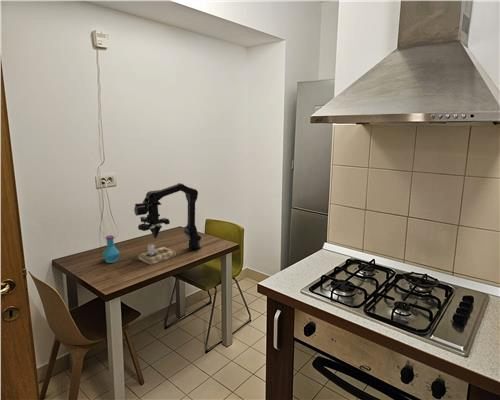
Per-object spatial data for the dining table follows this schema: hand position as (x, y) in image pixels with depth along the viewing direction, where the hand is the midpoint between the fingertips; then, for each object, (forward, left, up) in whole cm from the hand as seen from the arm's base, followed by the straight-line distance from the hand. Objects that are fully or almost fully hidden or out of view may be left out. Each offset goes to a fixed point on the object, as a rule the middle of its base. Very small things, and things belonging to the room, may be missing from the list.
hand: (155, 237), depth 207 cm
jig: (0, +2, -12) cm, 12 cm away
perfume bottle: (+20, -15, -12) cm, 28 cm away
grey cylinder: (+4, +2, -12) cm, 13 cm away
